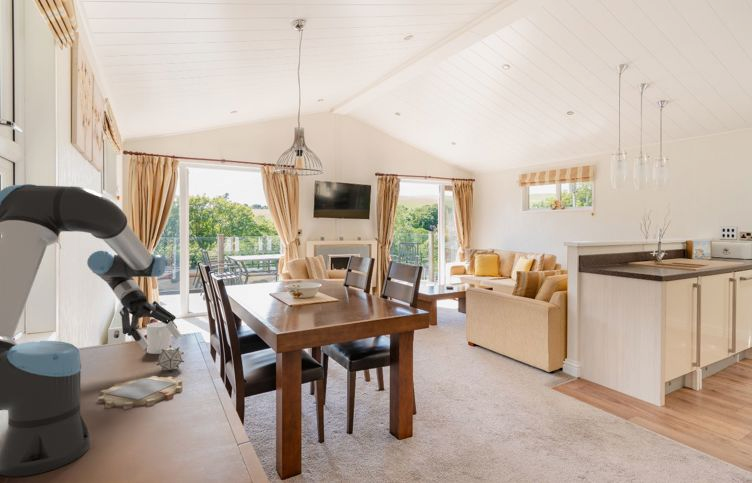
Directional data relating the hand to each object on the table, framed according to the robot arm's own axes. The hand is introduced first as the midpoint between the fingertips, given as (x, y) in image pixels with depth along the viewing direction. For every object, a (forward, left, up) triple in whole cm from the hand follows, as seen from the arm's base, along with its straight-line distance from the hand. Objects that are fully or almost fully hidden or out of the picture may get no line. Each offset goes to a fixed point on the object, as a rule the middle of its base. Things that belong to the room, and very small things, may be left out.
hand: (163, 341), depth 140 cm
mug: (+13, +16, -9) cm, 22 cm away
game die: (-1, -4, -9) cm, 10 cm away
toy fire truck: (+21, +27, -9) cm, 35 cm away
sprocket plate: (-19, -12, -9) cm, 24 cm away
